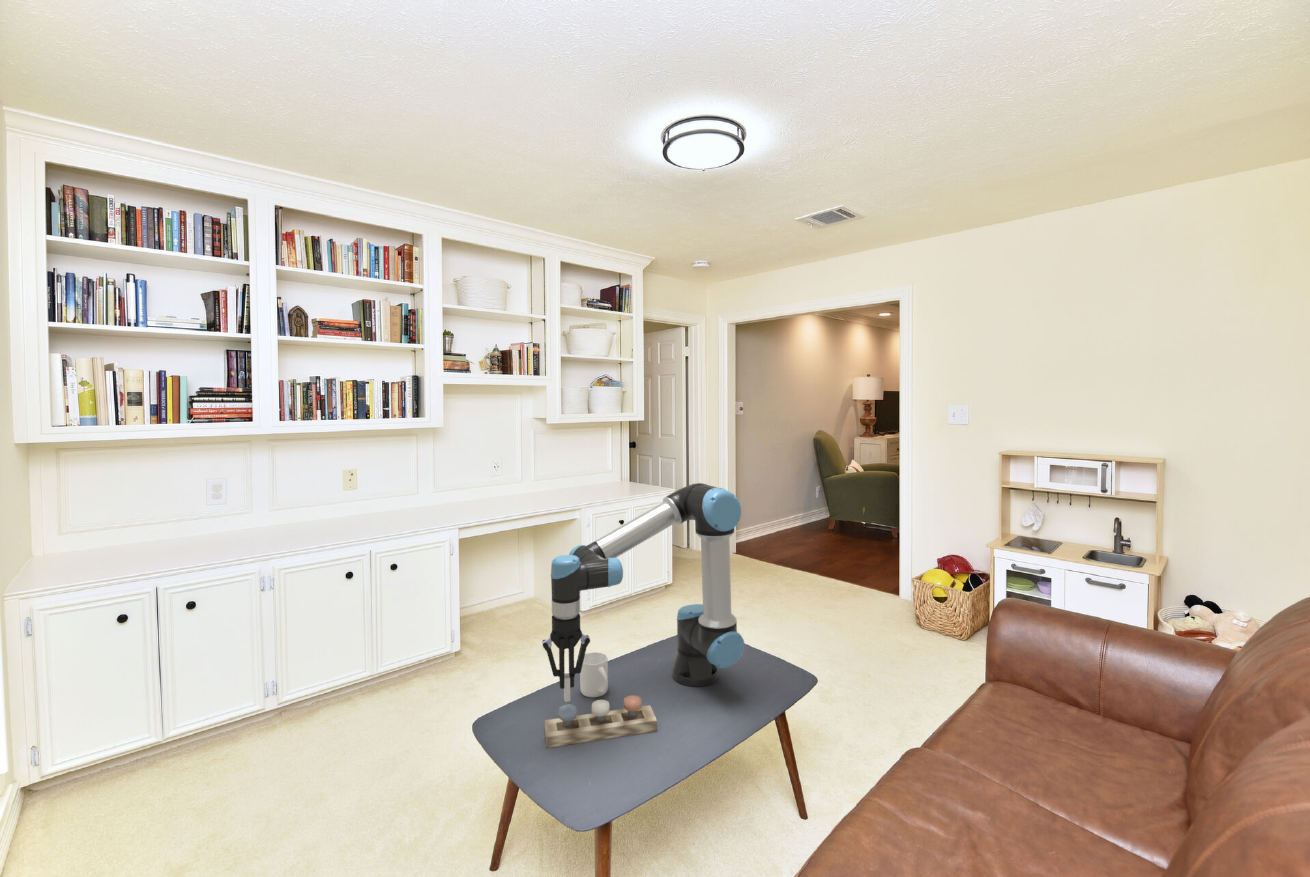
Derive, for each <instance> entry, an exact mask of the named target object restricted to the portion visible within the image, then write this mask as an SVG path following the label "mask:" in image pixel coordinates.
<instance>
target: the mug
mask: <svg viewBox="0 0 1310 877" xmlns="http://www.w3.org/2000/svg"><path fill="white" fill-rule="evenodd" d="M608 658H609V657H608V655H607V654H606V653H604V652H601V651H600V652H599V651H590V652H585V656H584V661H583V665H582V669H581V673H580V674H579V677H580V678H579V682H580V684H579V685H580V686H579V687H580V692H581V695H583V696H584V697H587V698H599V697H602V696H604V695H605V694H607V692H608V690H609V689H608V688H609V666H608V664H609V663H608V662H609V660H608Z"/></svg>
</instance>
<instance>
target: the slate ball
mask: <svg viewBox="0 0 1310 877" xmlns="http://www.w3.org/2000/svg"><path fill="white" fill-rule="evenodd" d="M577 713H578V712H577V706H576V705H575V704H570V703H569V704H568V703H567V704H563V705H561V706H560V707H559V708H558V718H559V719H560V720H562V721H563V727H565V728H569V727H572V726H573V719H575V718H576V716H578V714H577Z"/></svg>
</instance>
